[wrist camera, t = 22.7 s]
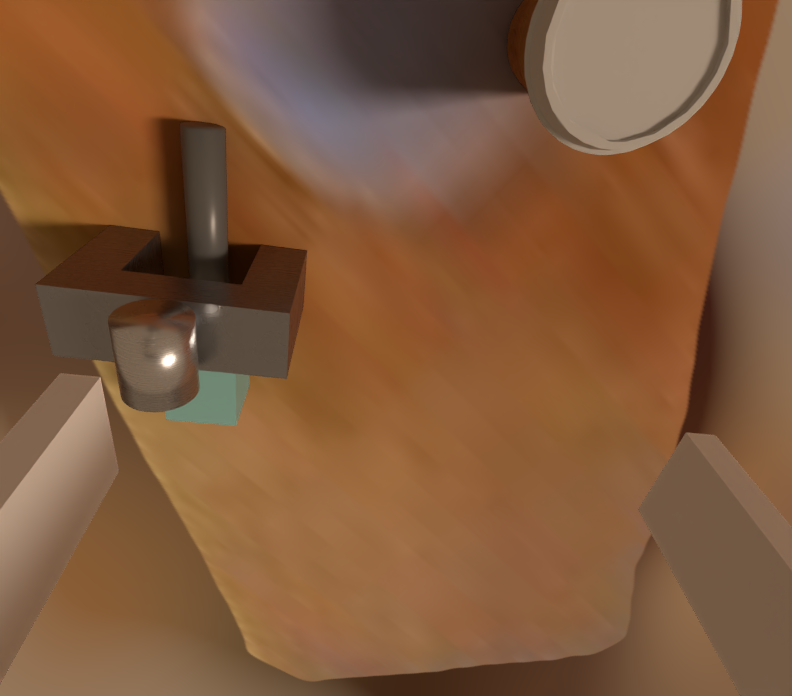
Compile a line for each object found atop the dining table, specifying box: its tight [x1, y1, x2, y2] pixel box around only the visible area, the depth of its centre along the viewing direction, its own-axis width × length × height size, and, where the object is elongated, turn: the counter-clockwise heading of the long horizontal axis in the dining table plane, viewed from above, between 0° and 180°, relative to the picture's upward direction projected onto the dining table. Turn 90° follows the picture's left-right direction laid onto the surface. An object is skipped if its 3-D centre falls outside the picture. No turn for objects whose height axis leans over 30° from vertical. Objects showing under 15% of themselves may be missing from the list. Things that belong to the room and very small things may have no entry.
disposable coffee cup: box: [507, 0, 742, 155], centre depth 27 cm, size 10×10×12 cm
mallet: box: [166, 122, 249, 426], centre depth 37 cm, size 22×6×6 cm, turn 171°
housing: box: [35, 225, 307, 412], centre depth 34 cm, size 5×14×14 cm, turn 81°
